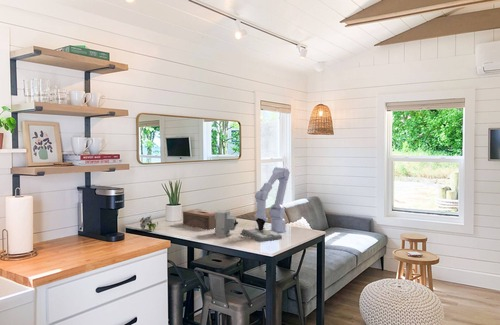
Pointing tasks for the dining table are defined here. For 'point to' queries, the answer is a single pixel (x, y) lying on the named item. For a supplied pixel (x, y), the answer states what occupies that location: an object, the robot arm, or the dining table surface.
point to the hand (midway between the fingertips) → (260, 230)
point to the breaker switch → (267, 232)
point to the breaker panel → (260, 234)
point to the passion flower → (147, 223)
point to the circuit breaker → (224, 222)
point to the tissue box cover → (199, 219)
